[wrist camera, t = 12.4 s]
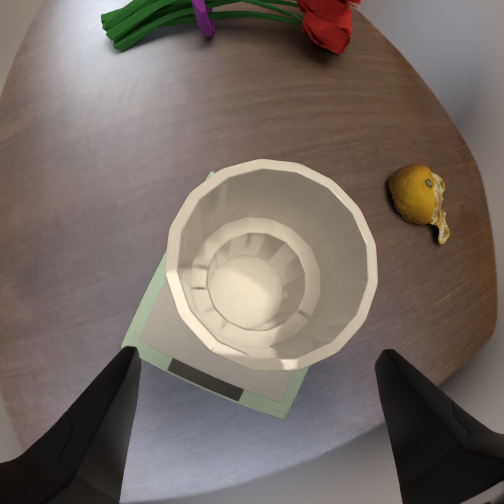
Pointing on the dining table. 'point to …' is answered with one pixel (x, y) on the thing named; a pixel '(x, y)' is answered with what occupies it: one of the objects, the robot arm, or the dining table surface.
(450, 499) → the robot arm
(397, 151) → the dining table surface
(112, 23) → the bouquet
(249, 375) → the scale
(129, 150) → the dining table surface
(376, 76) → the dining table surface
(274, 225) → the cream faceted cup
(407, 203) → the fruit
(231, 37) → the dining table surface
